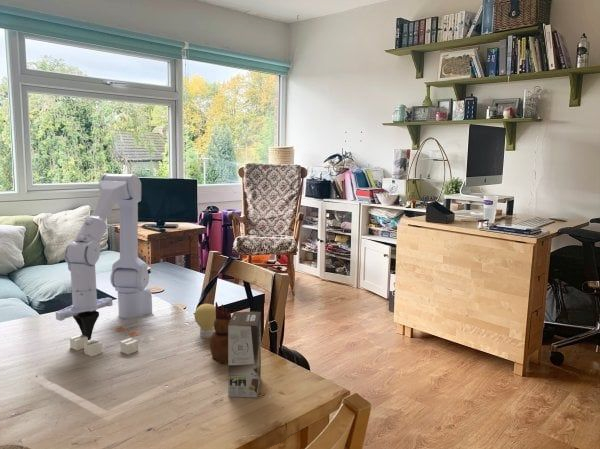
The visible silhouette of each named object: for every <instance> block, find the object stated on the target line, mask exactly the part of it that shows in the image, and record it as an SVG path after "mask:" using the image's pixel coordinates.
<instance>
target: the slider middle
mask: <svg viewBox="0 0 600 449" xmlns="http://www.w3.org/2000/svg"><path fill="white" fill-rule="evenodd" d="M83 349H84V353H83V354H85V355H87V356H89V357H95V356H97V355H99V354H103V342H101V341H100V340H97V339H93V340H89V341H88V342H87V343H84V348H83Z"/></svg>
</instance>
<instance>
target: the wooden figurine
mask: <svg viewBox="0 0 600 449" xmlns="http://www.w3.org/2000/svg"><path fill="white" fill-rule="evenodd" d="M215 307H216V319H215V321H214V326H213V328H214V332H213V334H212V335H211V337H210V338H209V339H210V340H209V348H210V353H211V356H212V358H213V360H214V361H215V362H216V363H219V364H228V324H229V322H230V320H231V317H232V313H231V311H229V312H228V309H227V308H225V309H224V304H221V307H220V308H219V305H218V301H216V302H215Z"/></svg>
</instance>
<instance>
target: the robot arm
mask: <svg viewBox="0 0 600 449" xmlns="http://www.w3.org/2000/svg"><path fill="white" fill-rule="evenodd" d="M98 190H99V195H98V199H97V201H96V204H95V207H94V210H93V211H92V214H91V216H89V217H86V218H85V219H84V221H83V223H82V224H81V227H80V229H79V231H78V233H77V235H76V238H75V240H74V241H72V242H70V243H69V244H67V246H66V247H65V251H64V254H63V256H64V257H63V258H64V261H65V262H66V264H67V269H68V271H69V272H70V279H71V280H70V281H71V282H70V283H71V299H72V304H71V305H70V306H67V307H65V308H63V309H60V310H57V311H55V319H56V320H57V321H60V322H62V321H64V320H65V319H68V318H73V319H74V320H75V323H77V326H78V327H79V330H80V332H81V335H85V336H86V337H88V341H92V336H93V335H92V334H93V331H94V328H95V327H94V326H95V325H96V322H97V320H98V319H99V316H100V311H98V310H99V309H101V308H105V307H113V304H114V303H113V297H112V298H111V297H104V298H99V299H98V294H97V275H96V264H97V263H98V261H99V259H100V254H101V248H102V247H101V242H102V239H103V238H104V236H105V233H106V231H107V229H108V226H107V223H106V221H107V219H108V217H109V215H111V214H110V213H111V212H112V210H113V208H114V207H115V205H116V204H117V205H118V207H119V259H117V260H116V261H114V263H113V264H112V265H111V266H112V269H111V273H110V278H109V280H110V284H111V286H112V288H113V289H114V290H115V292H117V304H118V305H117V306H118V317H119V318H122V319H137V318H140V317H142V316H144V315H148V316H155V314H154V313H153V295H152V291H151V289H150V288H149V287H148V285H149V281H150V274H149V272H148V266H147V265H148V264H147V263H146V262H145V261H144V260H142V259H141V258H140V257H139V246H138V245H139V242H138V241H139V240H138V239H139V234H138V233H139V222H138V221H139V215H138V214H139V205H138V203H139V202H140V203H141V201H142V181H141V180H140V178H139V176H138V175H137V174H135V173H132V174H127V173H126V174H125V173H122V174H121V173H119V174H118V173H103V174H102V175H101V177H100V180H99V183H98Z"/></svg>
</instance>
